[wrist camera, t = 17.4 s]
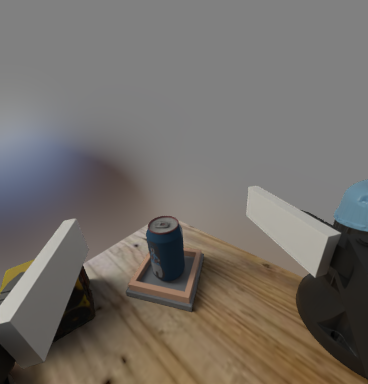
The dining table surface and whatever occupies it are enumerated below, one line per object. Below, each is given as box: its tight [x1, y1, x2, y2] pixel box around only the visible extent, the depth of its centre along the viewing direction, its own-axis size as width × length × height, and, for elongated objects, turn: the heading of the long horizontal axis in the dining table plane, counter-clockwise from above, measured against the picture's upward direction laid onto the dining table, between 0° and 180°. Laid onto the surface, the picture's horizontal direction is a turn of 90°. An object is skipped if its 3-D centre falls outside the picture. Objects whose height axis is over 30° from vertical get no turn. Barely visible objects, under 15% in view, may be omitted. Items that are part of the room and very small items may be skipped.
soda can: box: [146, 216, 185, 282], centre depth 34 cm, size 7×7×12 cm
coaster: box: [126, 248, 204, 312], centre depth 37 cm, size 13×13×3 cm
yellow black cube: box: [0, 259, 95, 343], centre depth 29 cm, size 10×10×10 cm
